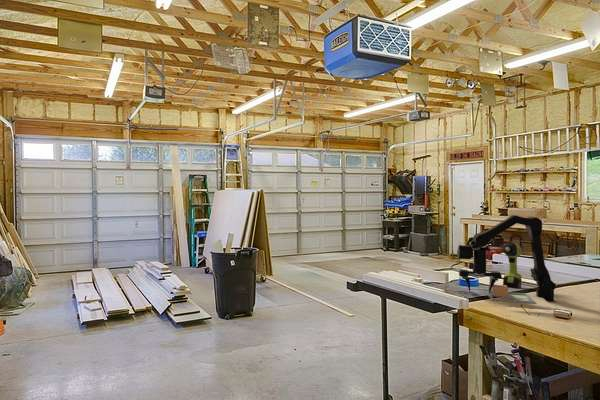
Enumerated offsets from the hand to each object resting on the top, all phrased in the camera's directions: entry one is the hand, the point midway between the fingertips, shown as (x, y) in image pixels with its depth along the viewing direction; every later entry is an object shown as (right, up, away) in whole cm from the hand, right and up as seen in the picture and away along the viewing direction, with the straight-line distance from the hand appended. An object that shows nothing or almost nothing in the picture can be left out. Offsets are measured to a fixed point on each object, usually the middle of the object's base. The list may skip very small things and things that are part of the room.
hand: (479, 291), depth 212 cm
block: (+9, -1, -2) cm, 9 cm away
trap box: (+11, -3, -7) cm, 14 cm away
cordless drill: (+22, -3, +15) cm, 27 cm away
